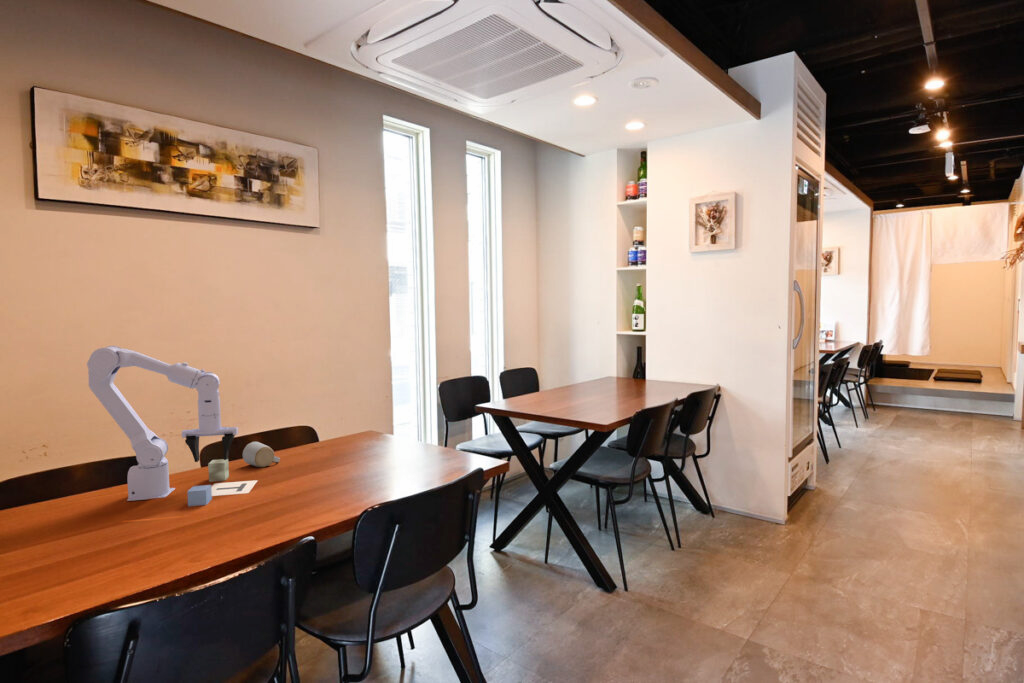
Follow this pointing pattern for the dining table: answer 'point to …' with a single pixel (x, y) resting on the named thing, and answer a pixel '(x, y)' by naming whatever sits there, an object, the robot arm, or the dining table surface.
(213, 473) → the green block
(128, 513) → the dining table surface
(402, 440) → the dining table surface
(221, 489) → the letter card
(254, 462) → the ceramic mug
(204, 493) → the blue cube
